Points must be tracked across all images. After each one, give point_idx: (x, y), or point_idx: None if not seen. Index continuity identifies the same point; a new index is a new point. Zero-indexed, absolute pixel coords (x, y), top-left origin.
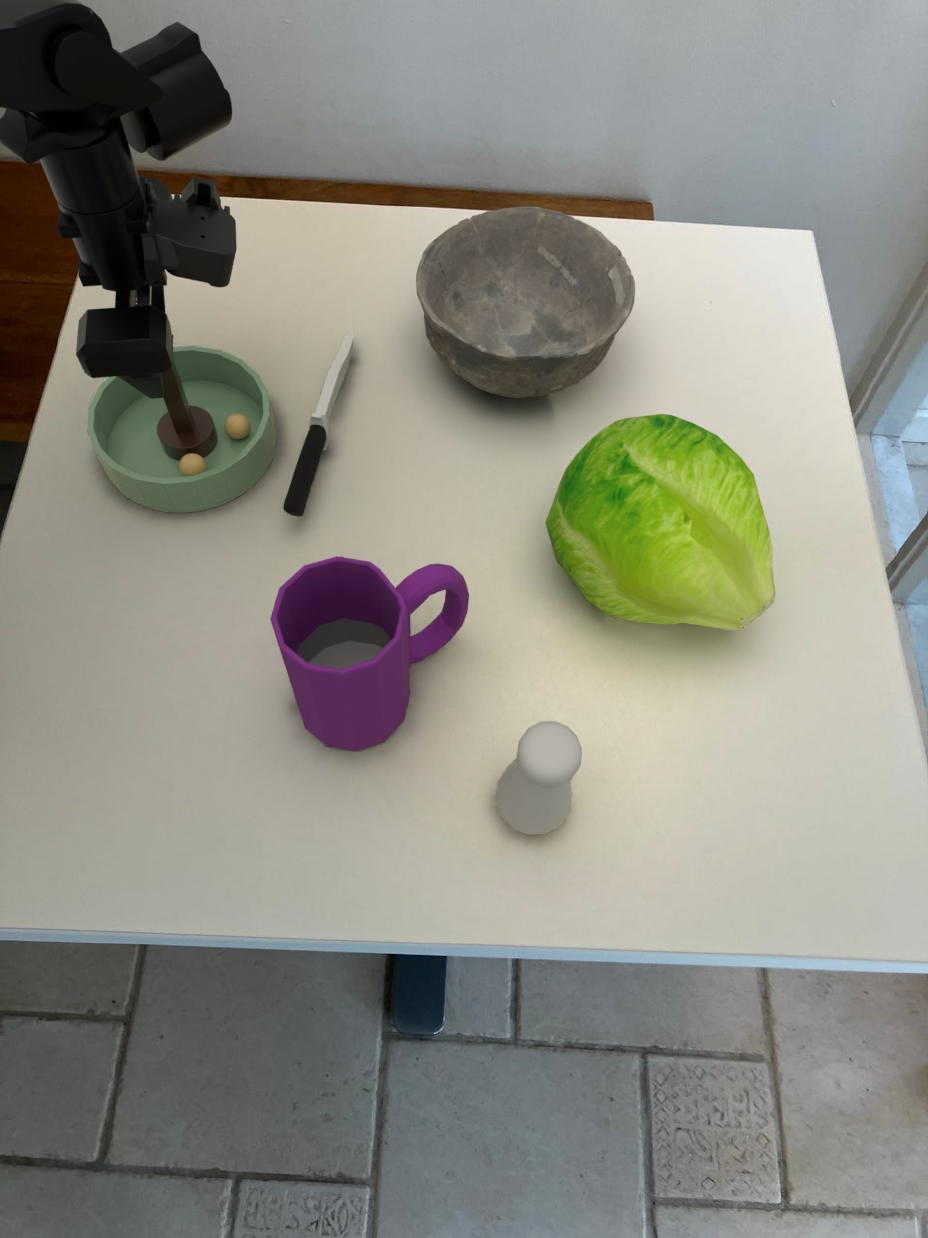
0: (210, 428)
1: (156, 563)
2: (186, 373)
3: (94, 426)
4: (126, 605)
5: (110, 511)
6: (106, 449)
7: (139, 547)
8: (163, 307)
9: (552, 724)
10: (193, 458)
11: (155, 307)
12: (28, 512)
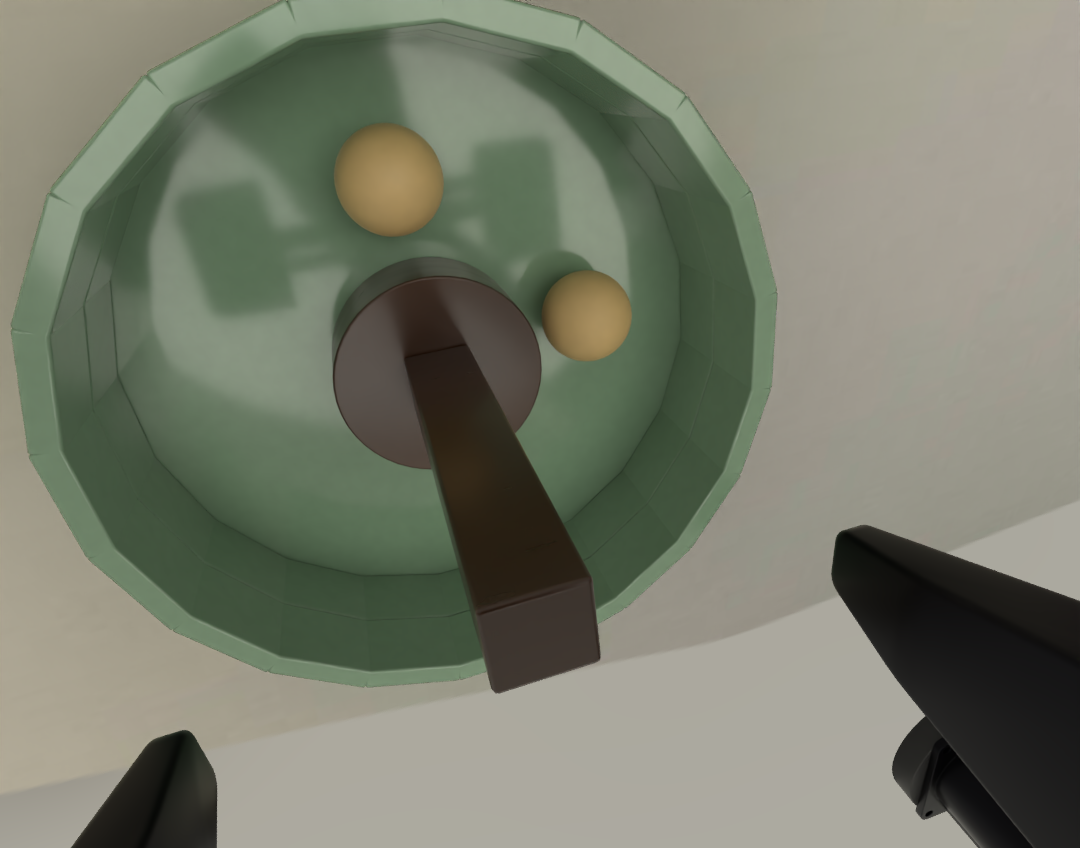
0: (444, 285)
1: (827, 345)
2: (127, 438)
3: None
4: (915, 383)
5: None
6: None
7: (775, 397)
8: (168, 802)
9: None
10: (602, 318)
11: (189, 842)
12: (652, 642)
